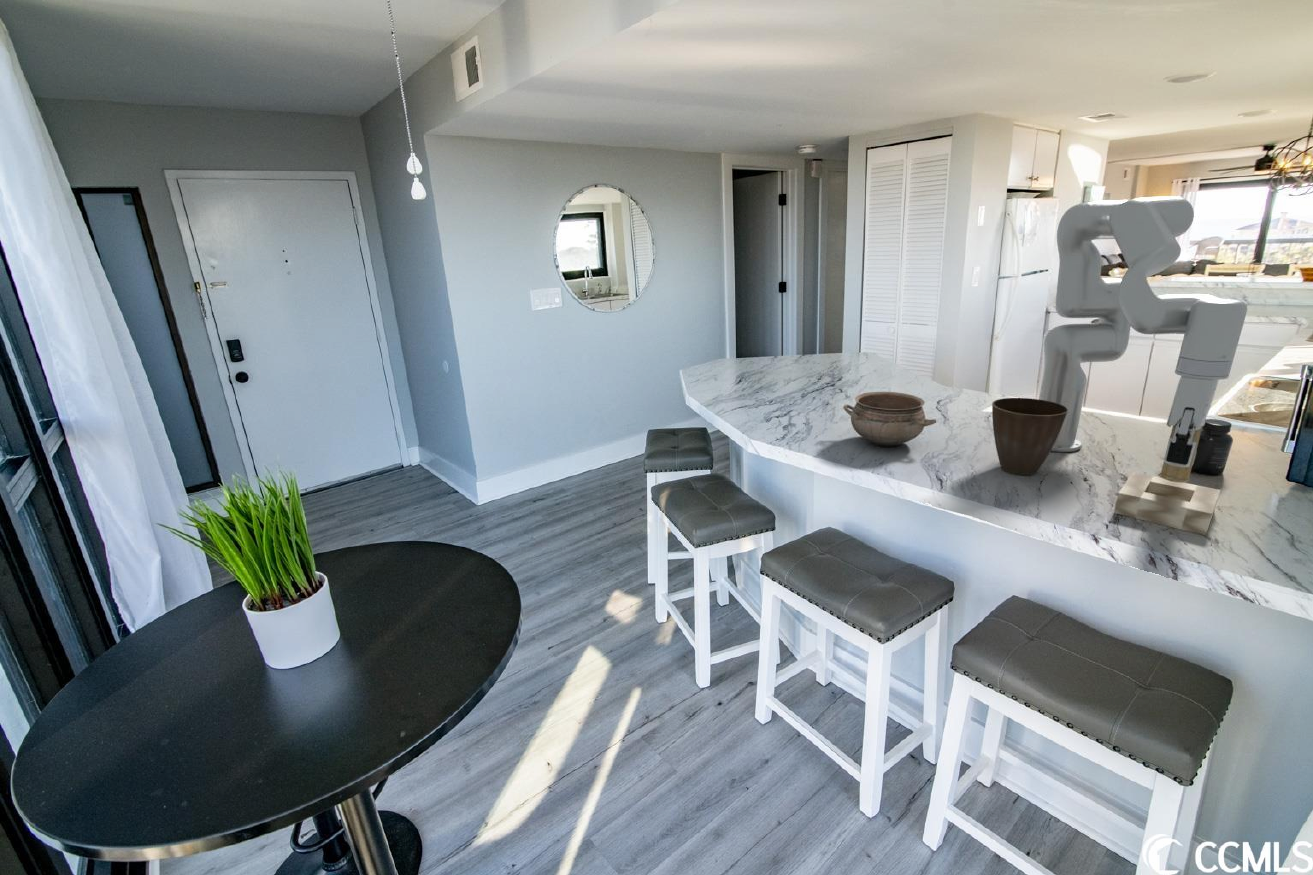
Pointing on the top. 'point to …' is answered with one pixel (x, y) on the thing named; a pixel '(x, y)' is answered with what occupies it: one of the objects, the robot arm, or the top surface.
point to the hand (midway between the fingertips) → (1178, 458)
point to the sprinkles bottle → (1180, 471)
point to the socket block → (1167, 502)
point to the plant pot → (1025, 432)
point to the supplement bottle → (1213, 448)
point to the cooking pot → (888, 417)
